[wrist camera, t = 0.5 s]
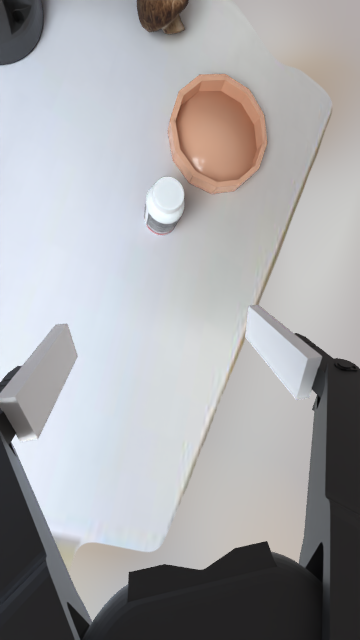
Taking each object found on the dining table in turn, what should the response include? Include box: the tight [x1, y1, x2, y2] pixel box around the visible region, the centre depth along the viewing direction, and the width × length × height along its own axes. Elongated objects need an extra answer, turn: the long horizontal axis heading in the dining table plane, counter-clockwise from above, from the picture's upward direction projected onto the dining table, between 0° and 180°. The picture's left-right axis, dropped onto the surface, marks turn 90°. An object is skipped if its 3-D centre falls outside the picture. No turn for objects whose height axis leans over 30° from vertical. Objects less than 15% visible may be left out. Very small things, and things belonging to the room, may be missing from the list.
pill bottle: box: [144, 177, 184, 235], centre depth 31 cm, size 5×5×10 cm
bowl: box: [168, 74, 267, 194], centre depth 35 cm, size 16×16×2 cm
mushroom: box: [137, 0, 188, 34], centre depth 30 cm, size 8×8×6 cm
